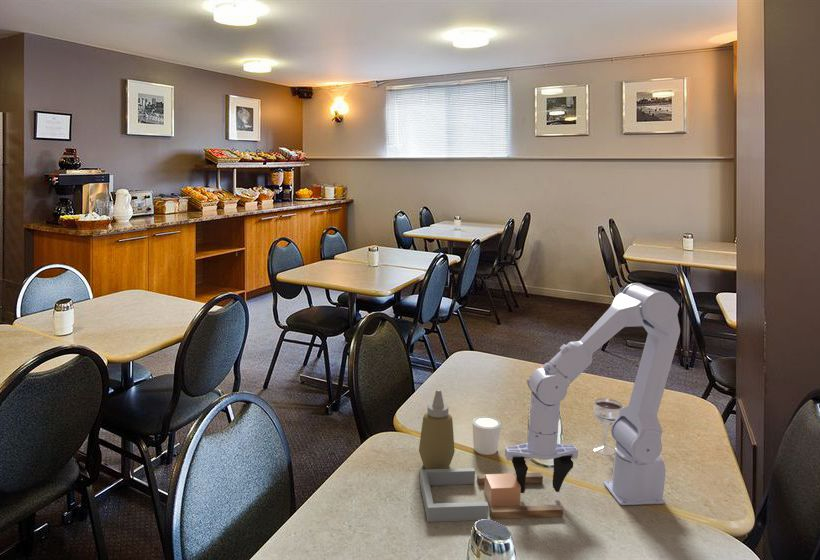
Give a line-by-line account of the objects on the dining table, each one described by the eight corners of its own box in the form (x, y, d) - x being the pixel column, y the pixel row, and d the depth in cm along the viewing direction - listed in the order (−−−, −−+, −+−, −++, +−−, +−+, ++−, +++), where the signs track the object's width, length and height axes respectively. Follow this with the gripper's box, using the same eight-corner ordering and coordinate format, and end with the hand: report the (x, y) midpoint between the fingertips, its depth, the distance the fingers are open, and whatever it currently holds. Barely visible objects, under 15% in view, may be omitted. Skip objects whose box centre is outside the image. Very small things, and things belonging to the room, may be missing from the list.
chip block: (512, 490, 109) (513, 473, 108) (519, 505, 104) (520, 487, 103) (484, 492, 108) (485, 474, 107) (490, 506, 103) (491, 488, 102)
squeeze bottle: (455, 476, 114) (458, 399, 110) (418, 475, 114) (420, 398, 110) (452, 456, 122) (455, 384, 118) (418, 456, 122) (420, 383, 118)
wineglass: (586, 442, 130) (590, 397, 128) (614, 444, 129) (619, 398, 127) (593, 456, 123) (597, 408, 121) (622, 458, 123) (627, 410, 120)
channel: (540, 478, 113) (540, 472, 113) (562, 516, 101) (563, 509, 100) (477, 480, 112) (477, 474, 112) (491, 519, 99) (492, 512, 99)
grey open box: (473, 480, 112) (473, 467, 111) (487, 519, 99) (488, 505, 99) (419, 482, 111) (420, 469, 110) (427, 521, 98) (427, 507, 97)
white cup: (499, 457, 122) (500, 430, 120) (469, 454, 123) (471, 426, 122) (500, 443, 128) (501, 417, 127) (472, 440, 130) (473, 414, 128)
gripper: (570, 418, 108) (565, 477, 111) (502, 419, 107) (498, 479, 110) (584, 434, 102) (578, 497, 104) (512, 436, 100) (508, 499, 103)
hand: (538, 489), depth 106 cm, fingers open, 7 cm apart
